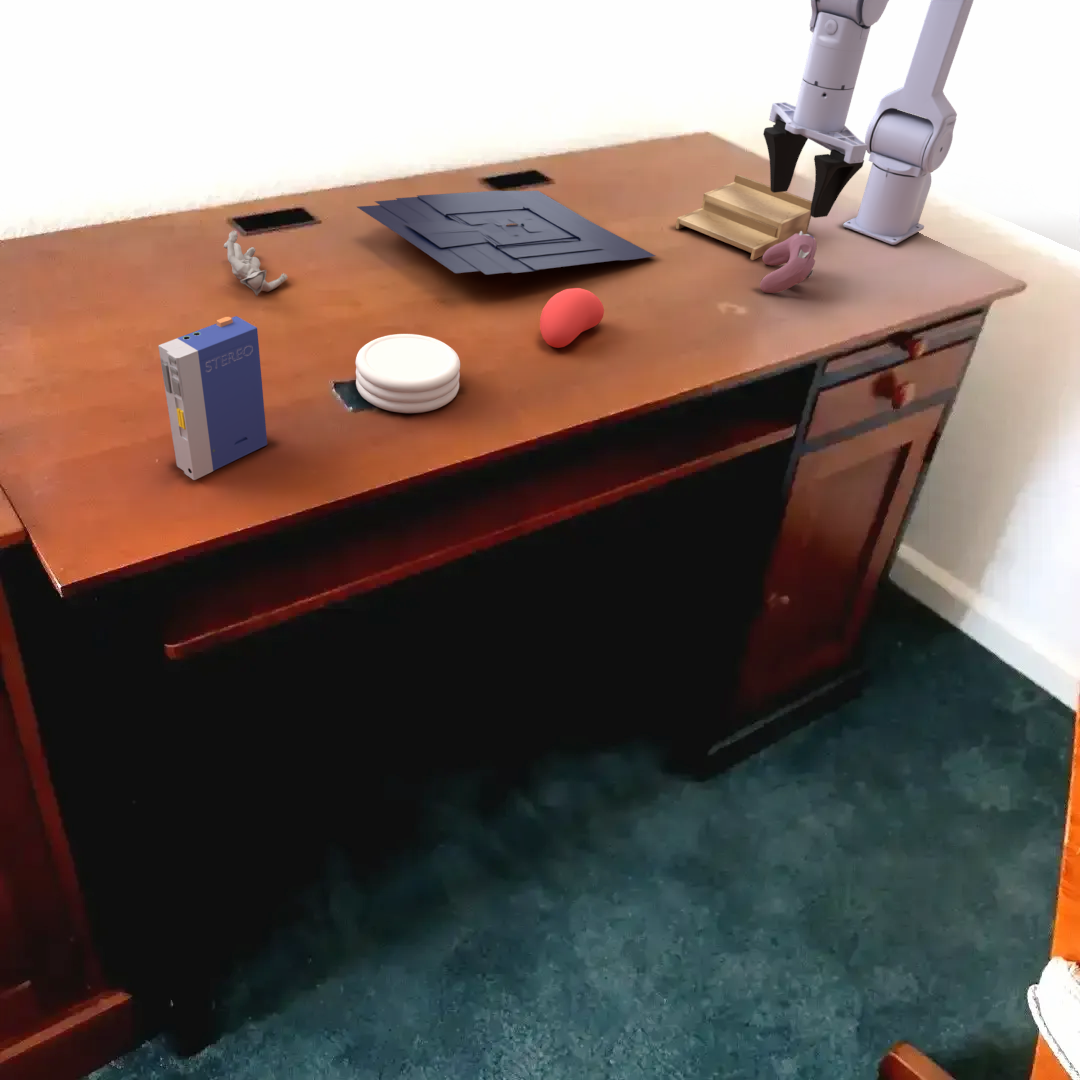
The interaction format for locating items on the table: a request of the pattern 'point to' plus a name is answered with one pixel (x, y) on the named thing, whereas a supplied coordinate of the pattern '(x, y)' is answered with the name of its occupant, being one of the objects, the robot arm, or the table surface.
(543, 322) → the red kidney bean
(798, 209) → the step shelf
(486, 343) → the table surface
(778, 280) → the video game controller
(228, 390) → the walkman
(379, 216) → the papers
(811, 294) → the table surface
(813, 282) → the table surface
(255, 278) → the soldier figure
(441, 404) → the coaster
